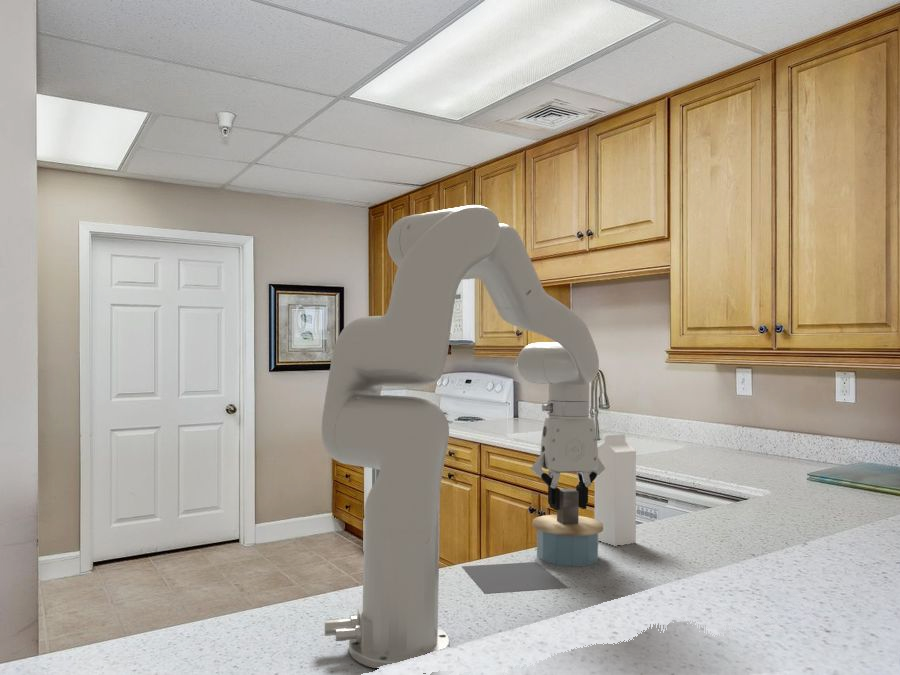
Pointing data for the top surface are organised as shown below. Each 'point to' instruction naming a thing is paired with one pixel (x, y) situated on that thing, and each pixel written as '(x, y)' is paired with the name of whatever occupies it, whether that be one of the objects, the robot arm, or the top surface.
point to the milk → (616, 491)
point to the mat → (512, 577)
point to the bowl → (567, 549)
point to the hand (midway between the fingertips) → (567, 507)
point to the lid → (568, 518)
